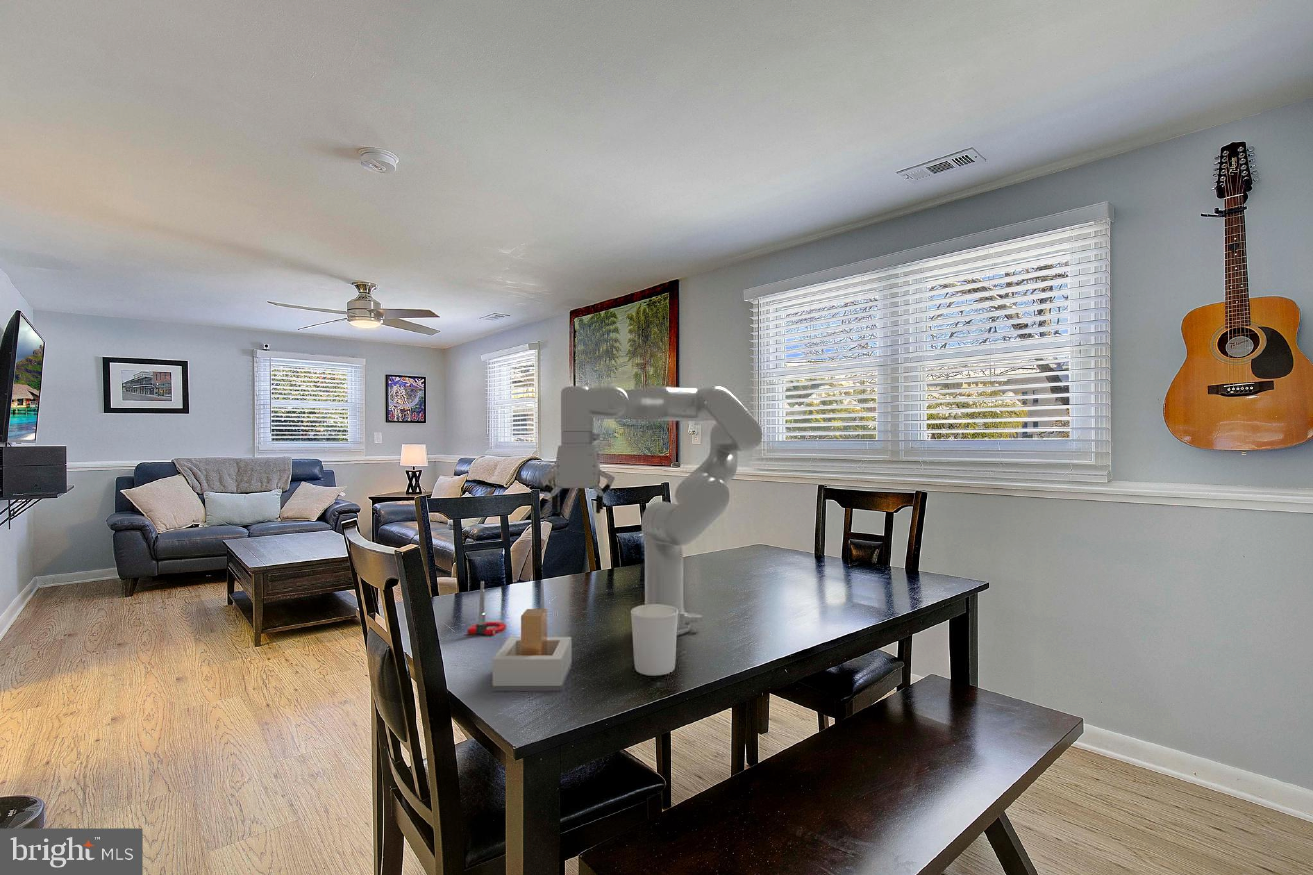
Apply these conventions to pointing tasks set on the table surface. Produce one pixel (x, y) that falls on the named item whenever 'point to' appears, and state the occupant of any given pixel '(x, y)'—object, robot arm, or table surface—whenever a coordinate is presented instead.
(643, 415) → the robot arm
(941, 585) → the table surface
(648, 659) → the candle holder
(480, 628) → the tow hook
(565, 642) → the well
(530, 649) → the wooden square beam
